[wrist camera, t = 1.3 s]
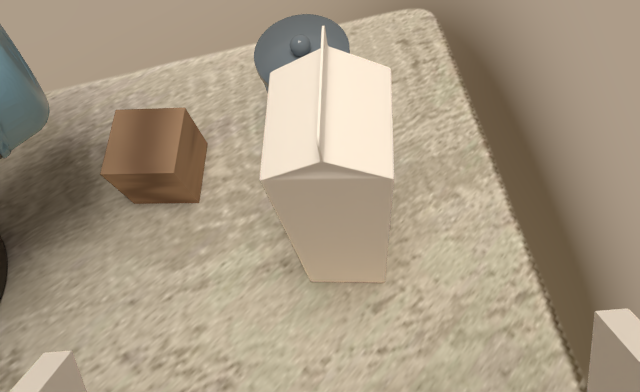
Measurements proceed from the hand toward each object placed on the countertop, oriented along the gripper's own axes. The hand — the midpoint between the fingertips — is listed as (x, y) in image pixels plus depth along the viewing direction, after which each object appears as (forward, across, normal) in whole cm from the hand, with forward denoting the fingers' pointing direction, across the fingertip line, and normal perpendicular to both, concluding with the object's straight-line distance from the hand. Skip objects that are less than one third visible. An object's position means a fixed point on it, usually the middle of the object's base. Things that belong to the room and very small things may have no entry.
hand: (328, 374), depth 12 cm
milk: (+26, 0, -9) cm, 27 cm away
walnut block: (+31, -16, -3) cm, 35 cm away
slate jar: (+35, -2, 0) cm, 35 cm away
